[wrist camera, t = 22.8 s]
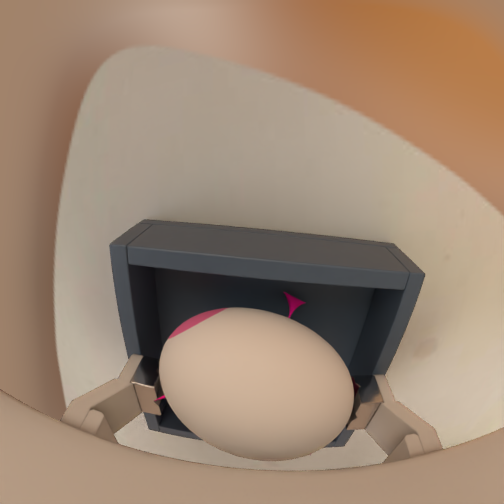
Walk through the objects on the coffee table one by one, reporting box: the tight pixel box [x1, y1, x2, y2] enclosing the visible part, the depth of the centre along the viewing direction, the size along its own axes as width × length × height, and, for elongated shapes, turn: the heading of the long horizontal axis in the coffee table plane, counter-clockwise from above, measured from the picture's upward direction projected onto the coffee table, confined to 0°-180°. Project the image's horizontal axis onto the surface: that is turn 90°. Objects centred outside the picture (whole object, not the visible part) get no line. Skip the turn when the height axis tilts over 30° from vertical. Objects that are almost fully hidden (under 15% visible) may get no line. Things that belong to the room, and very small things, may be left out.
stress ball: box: [154, 292, 354, 461], centre depth 11 cm, size 8×8×7 cm
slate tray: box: [109, 220, 425, 448], centre depth 12 cm, size 11×11×3 cm
